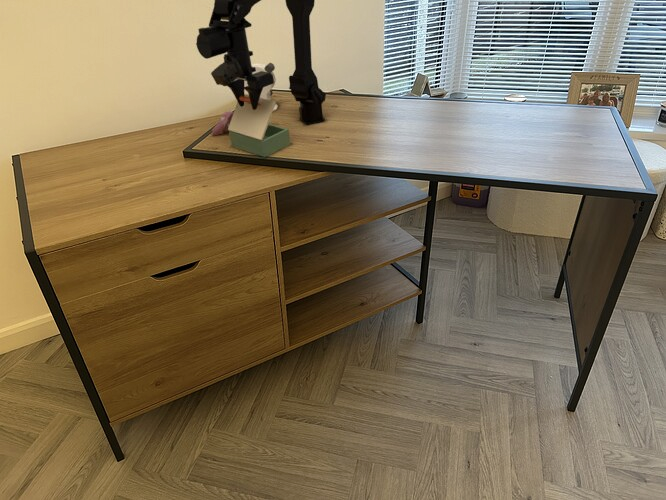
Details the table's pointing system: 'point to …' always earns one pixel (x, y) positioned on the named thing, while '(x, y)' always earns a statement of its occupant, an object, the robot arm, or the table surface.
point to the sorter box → (262, 141)
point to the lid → (252, 117)
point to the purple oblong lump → (223, 123)
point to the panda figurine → (266, 90)
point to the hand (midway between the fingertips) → (248, 107)
